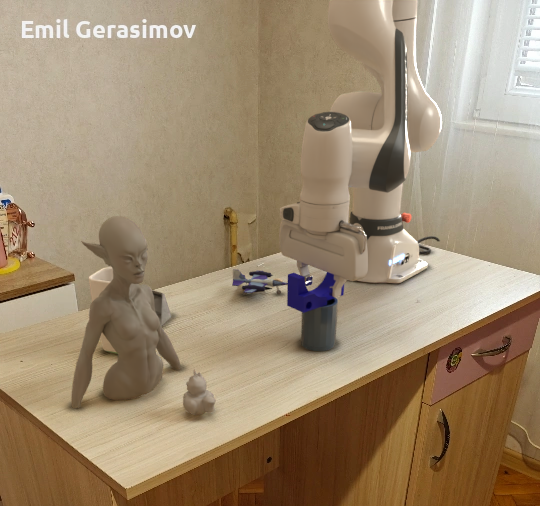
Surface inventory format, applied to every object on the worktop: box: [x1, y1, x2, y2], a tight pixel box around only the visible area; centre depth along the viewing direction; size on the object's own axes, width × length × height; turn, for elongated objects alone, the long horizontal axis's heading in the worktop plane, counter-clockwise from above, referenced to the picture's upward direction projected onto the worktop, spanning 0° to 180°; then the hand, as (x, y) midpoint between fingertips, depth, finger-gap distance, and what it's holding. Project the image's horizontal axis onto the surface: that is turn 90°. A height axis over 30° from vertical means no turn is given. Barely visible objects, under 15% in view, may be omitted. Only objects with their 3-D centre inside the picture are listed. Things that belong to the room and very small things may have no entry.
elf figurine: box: [70, 215, 182, 409], centre depth 118 cm, size 23×10×30 cm, turn 133°
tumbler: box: [300, 297, 339, 352], centre depth 140 cm, size 7×7×9 cm
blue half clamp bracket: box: [286, 272, 345, 313], centre depth 135 cm, size 12×4×6 cm, turn 130°
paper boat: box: [151, 289, 173, 327], centre depth 151 cm, size 12×6×9 cm
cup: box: [88, 266, 118, 355], centre depth 136 cm, size 7×7×15 cm
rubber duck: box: [182, 368, 217, 416], centre depth 118 cm, size 5×7×8 cm
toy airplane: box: [231, 268, 288, 296], centre depth 164 cm, size 13×14×4 cm
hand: (320, 290), depth 136 cm, fingers open, 6 cm apart
